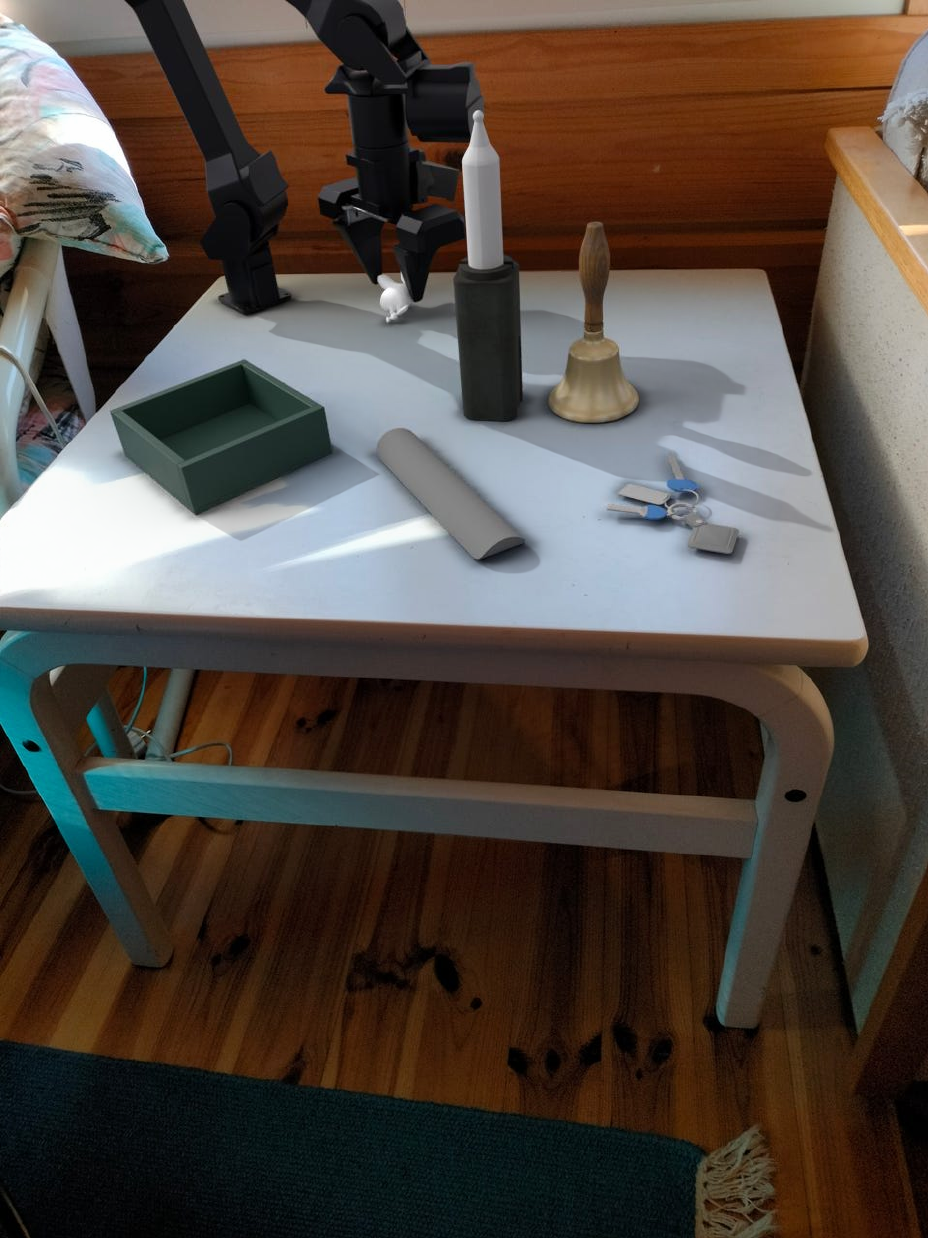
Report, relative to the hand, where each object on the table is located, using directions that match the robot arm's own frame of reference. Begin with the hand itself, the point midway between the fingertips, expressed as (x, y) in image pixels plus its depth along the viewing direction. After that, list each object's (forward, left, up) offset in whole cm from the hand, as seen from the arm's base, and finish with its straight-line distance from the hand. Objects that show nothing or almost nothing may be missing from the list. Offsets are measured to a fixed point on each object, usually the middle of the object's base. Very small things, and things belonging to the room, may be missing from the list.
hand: (397, 292), depth 107 cm
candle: (+25, -8, -2) cm, 27 cm away
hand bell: (+31, -1, -2) cm, 31 cm away
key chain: (+48, -10, -2) cm, 49 cm away
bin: (+14, -30, -2) cm, 33 cm away
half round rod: (+34, -21, -2) cm, 40 cm away
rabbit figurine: (+1, 0, -2) cm, 2 cm away
